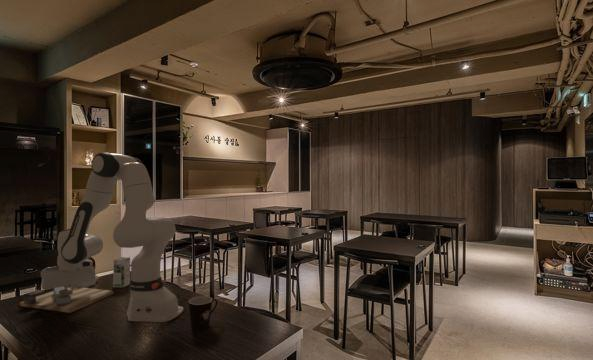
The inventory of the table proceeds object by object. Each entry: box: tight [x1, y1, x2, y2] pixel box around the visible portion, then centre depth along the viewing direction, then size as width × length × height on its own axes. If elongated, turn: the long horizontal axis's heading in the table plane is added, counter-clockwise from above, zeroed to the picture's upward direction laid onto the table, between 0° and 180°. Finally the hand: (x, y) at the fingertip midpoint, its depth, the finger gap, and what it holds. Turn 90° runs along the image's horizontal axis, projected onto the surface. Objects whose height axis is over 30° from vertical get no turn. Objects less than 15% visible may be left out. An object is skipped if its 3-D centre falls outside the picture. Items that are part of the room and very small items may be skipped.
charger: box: [68, 275, 101, 288], centre depth 173 cm, size 5×9×15 cm
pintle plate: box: [19, 286, 114, 314], centre depth 152 cm, size 27×24×7 cm
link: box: [53, 286, 71, 305], centre depth 149 cm, size 20×5×2 cm, turn 41°
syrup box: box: [112, 256, 131, 289], centre depth 172 cm, size 6×6×14 cm
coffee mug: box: [188, 295, 218, 332], centre depth 127 cm, size 12×9×10 cm
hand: (69, 294), depth 151 cm, fingers closed
